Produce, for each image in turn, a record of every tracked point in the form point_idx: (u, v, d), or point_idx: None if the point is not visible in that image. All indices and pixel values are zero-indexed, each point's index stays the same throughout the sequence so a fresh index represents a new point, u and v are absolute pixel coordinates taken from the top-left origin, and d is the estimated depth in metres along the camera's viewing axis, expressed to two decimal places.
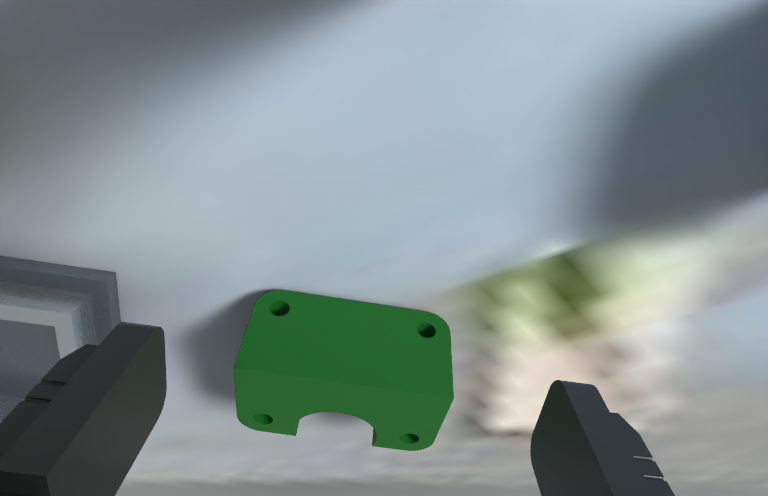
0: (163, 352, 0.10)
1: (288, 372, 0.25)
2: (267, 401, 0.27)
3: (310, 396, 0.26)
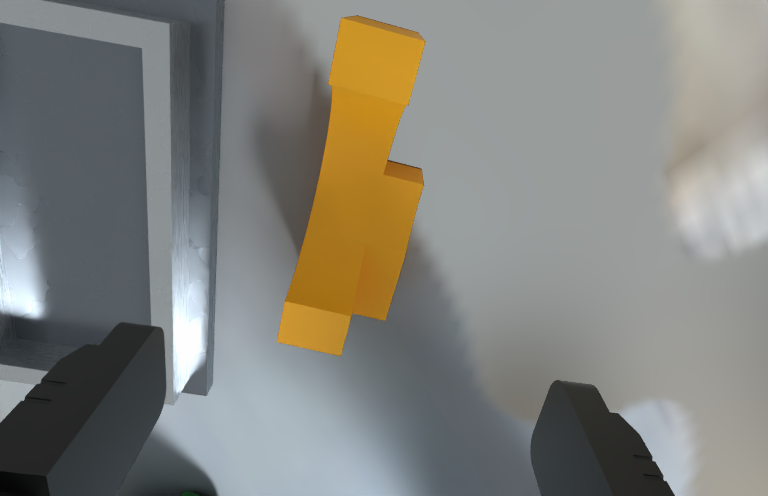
0: (163, 352, 0.10)
1: None
2: None
3: None
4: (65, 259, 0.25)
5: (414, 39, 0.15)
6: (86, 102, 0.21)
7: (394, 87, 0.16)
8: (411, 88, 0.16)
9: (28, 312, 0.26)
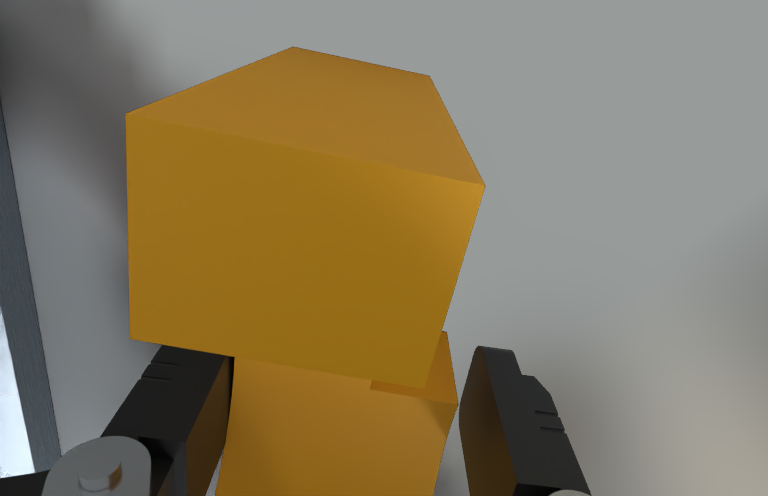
0: None
1: None
2: None
3: None
4: None
5: (439, 180, 0.04)
6: None
7: (371, 340, 0.04)
8: (433, 341, 0.04)
9: None
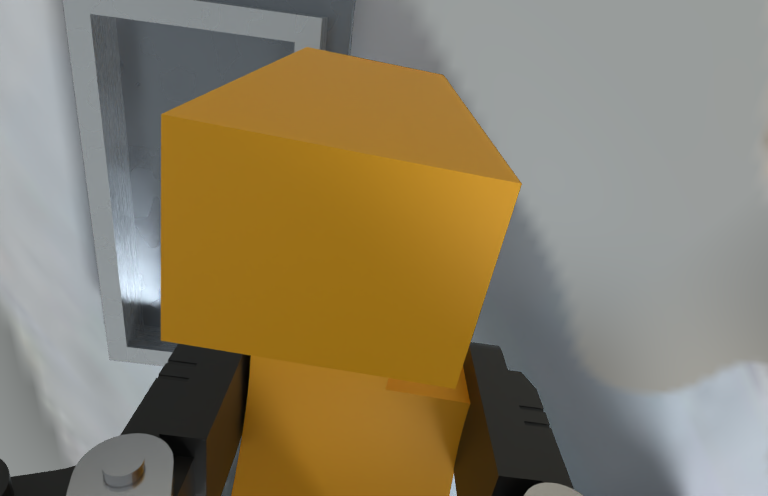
0: None
1: None
2: None
3: None
4: None
5: (475, 179, 0.04)
6: None
7: (403, 339, 0.04)
8: (466, 340, 0.04)
9: (156, 299, 0.28)
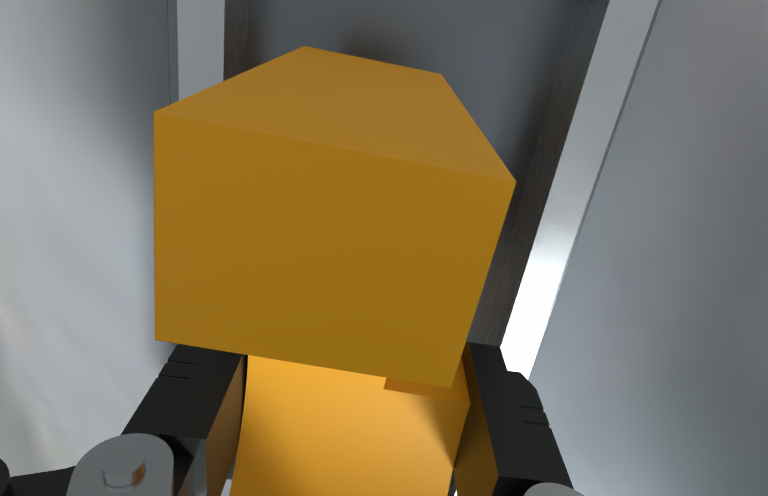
0: None
1: None
2: None
3: None
4: None
5: (470, 177, 0.04)
6: None
7: (398, 338, 0.04)
8: (461, 339, 0.04)
9: None
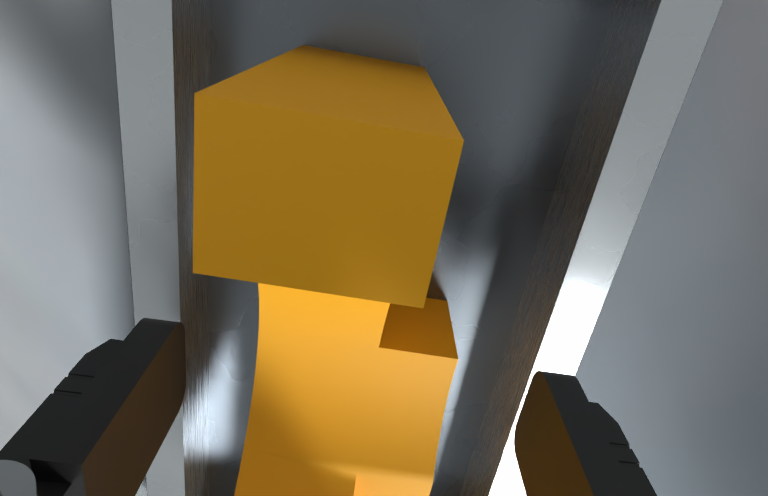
0: (183, 347, 0.10)
1: None
2: None
3: None
4: None
5: (429, 137, 0.05)
6: None
7: (380, 268, 0.06)
8: (429, 267, 0.05)
9: (236, 459, 0.16)
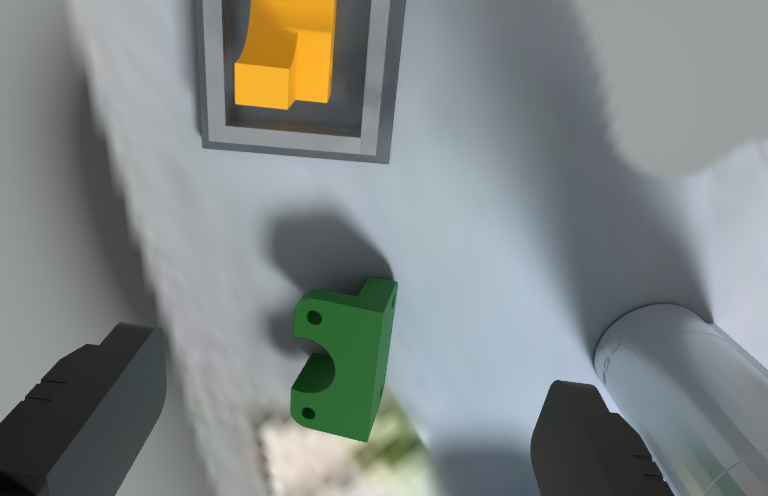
0: (163, 352, 0.10)
1: (379, 346, 0.34)
2: (341, 326, 0.34)
3: (353, 357, 0.34)
4: None
5: None
6: None
7: None
8: None
9: None
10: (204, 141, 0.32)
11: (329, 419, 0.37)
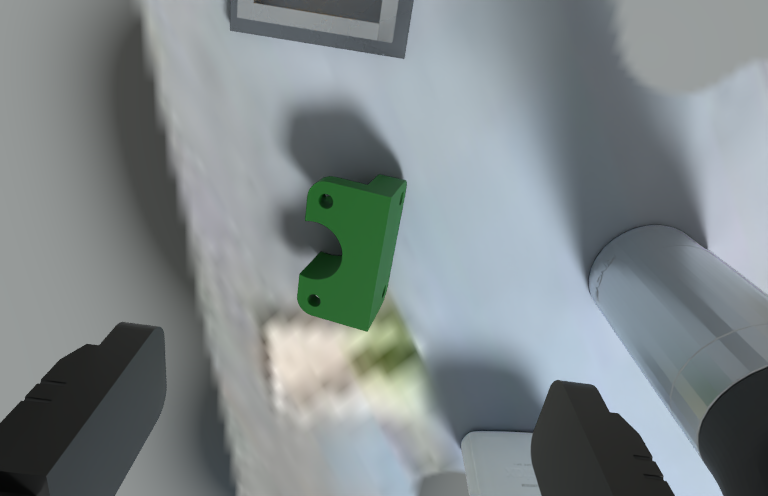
0: (163, 352, 0.10)
1: (385, 232, 0.36)
2: (350, 210, 0.36)
3: (360, 242, 0.36)
4: None
5: None
6: None
7: None
8: None
9: None
10: (232, 23, 0.34)
11: (333, 307, 0.39)
